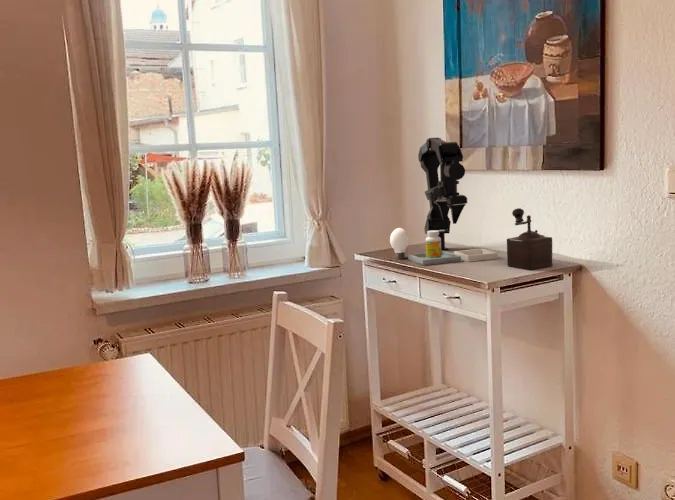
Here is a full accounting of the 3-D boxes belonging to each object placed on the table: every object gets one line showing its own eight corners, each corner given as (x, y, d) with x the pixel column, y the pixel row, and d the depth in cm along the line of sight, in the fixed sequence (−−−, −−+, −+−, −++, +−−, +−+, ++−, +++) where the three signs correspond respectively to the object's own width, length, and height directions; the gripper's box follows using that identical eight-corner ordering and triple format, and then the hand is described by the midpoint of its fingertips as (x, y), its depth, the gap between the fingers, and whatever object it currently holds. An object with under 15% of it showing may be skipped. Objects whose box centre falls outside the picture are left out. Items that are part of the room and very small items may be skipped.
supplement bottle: (423, 259, 239) (422, 232, 237) (429, 256, 243) (428, 229, 242) (438, 260, 236) (437, 232, 234) (443, 257, 241) (442, 230, 239)
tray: (407, 259, 245) (407, 254, 244) (444, 255, 248) (443, 250, 248) (422, 265, 231) (422, 260, 231) (460, 261, 235) (460, 256, 234)
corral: (454, 256, 244) (453, 251, 244) (482, 253, 247) (482, 248, 247) (468, 261, 234) (467, 255, 233) (497, 258, 236) (497, 252, 236)
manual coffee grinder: (555, 265, 218) (555, 209, 216) (530, 270, 213) (530, 213, 210) (518, 260, 232) (518, 207, 229) (494, 264, 226) (494, 210, 223)
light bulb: (408, 259, 244) (407, 228, 242) (390, 259, 245) (388, 229, 244) (409, 256, 251) (408, 226, 249) (391, 256, 252) (390, 227, 250)
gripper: (417, 178, 248) (419, 220, 250) (436, 181, 230) (437, 227, 232) (446, 176, 250) (447, 218, 253) (467, 179, 232) (468, 224, 235)
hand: (449, 222), depth 243 cm, fingers open, 9 cm apart
